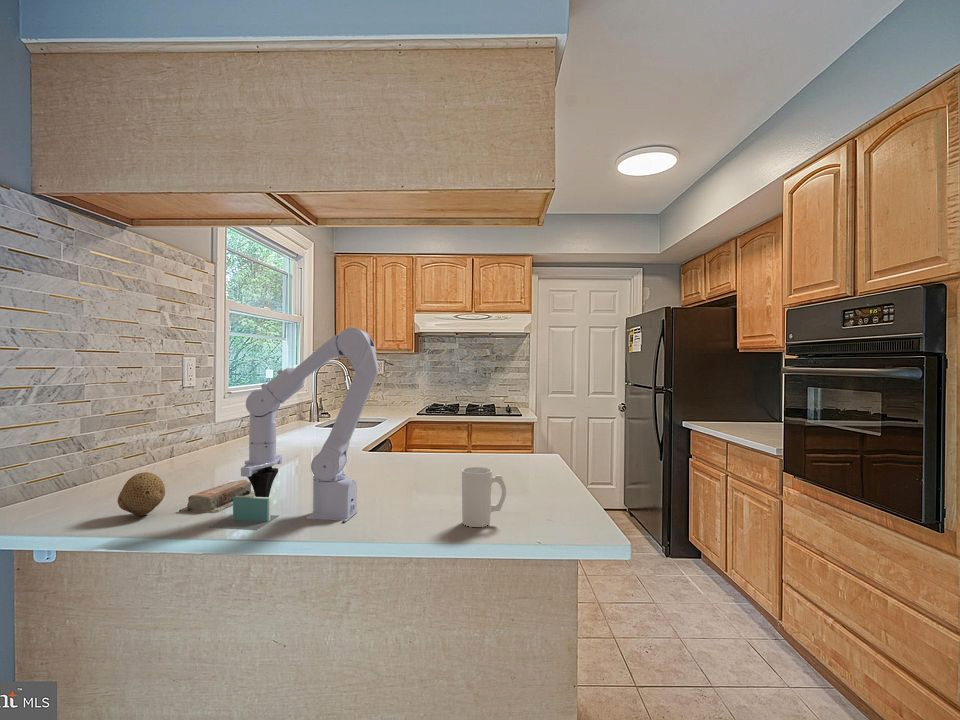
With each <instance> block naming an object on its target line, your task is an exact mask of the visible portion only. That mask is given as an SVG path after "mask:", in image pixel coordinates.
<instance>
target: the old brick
mask: <svg viewBox="0 0 960 720" xmlns="http://www.w3.org/2000/svg"><path fill="white" fill-rule="evenodd" d="M236 496H247V497H255V493H254V490H252V484H251V482H250V481H248V480H246V479H240V480H234V481H230V482H227V483H223V484H221V485H218V486H214V487H212V488H209V489H206V490H203V491H200V492H197V493H194V494H192V495H190V496H188V500H187V501H188V502H187V505H186V507H183V508H180V509H179V510H178V512H193V513H194V512H195V513H210V514H211V513H215V514H216V513H220V512H222V511H223V510H224V511H225V510H227V509H229V508H231V507H233V498H234V497H236Z"/></svg>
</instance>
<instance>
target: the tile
mask: <svg viewBox="0 0 960 720" xmlns="http://www.w3.org/2000/svg"><path fill="white" fill-rule="evenodd" d="M271 498H272V497H271V496H269V497H255V496H254V497H247V496H236V497H234V498H233V506H232V515H233V520H238V521H259V522H268V521H270V515H271V502H272V501H271Z"/></svg>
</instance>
